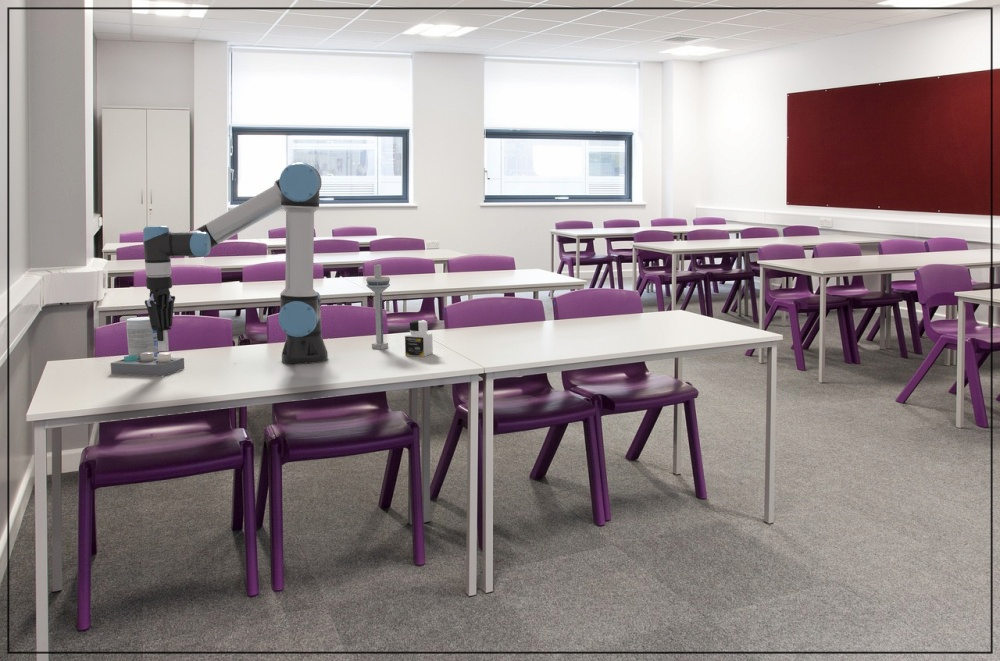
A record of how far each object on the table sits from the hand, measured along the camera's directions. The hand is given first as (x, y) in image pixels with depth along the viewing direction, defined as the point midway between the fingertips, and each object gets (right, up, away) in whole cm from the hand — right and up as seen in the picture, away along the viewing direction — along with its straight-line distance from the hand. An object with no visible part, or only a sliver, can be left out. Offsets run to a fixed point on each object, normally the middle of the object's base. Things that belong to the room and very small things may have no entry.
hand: (163, 350), depth 280 cm
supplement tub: (-13, -4, +18) cm, 23 cm away
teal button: (-12, -5, +3) cm, 13 cm away
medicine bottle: (+78, -2, +27) cm, 83 cm away
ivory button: (0, -4, +1) cm, 4 cm away
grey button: (-6, -4, +2) cm, 7 cm away
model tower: (+63, 0, +41) cm, 75 cm away
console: (-6, -7, +2) cm, 9 cm away
